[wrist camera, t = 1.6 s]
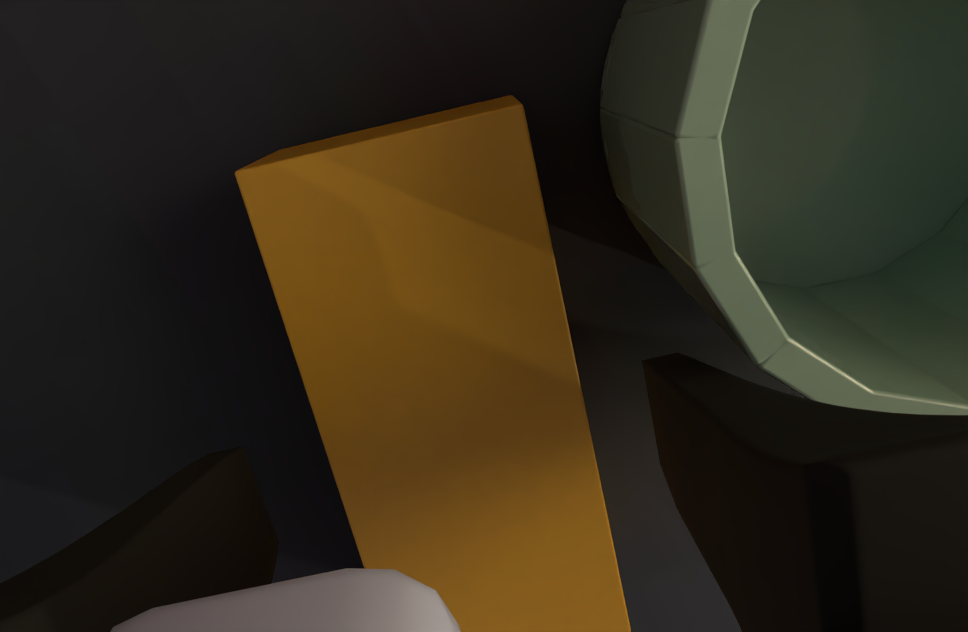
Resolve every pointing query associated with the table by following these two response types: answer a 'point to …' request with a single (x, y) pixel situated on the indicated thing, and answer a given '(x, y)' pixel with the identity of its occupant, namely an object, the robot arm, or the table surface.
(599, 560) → the block
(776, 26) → the cup
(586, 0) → the table surface
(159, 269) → the table surface
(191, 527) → the robot arm
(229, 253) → the table surface
